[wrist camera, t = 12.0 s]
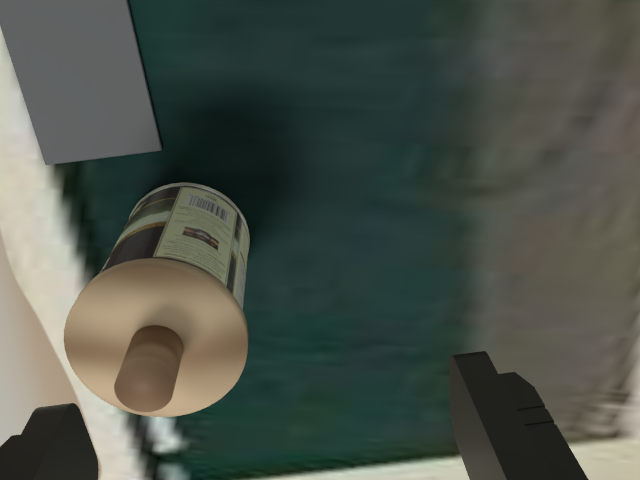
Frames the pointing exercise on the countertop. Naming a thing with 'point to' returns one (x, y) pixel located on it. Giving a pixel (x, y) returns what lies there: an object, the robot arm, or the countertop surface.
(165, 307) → the lid
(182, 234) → the coffee can
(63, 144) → the mat
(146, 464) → the countertop surface
